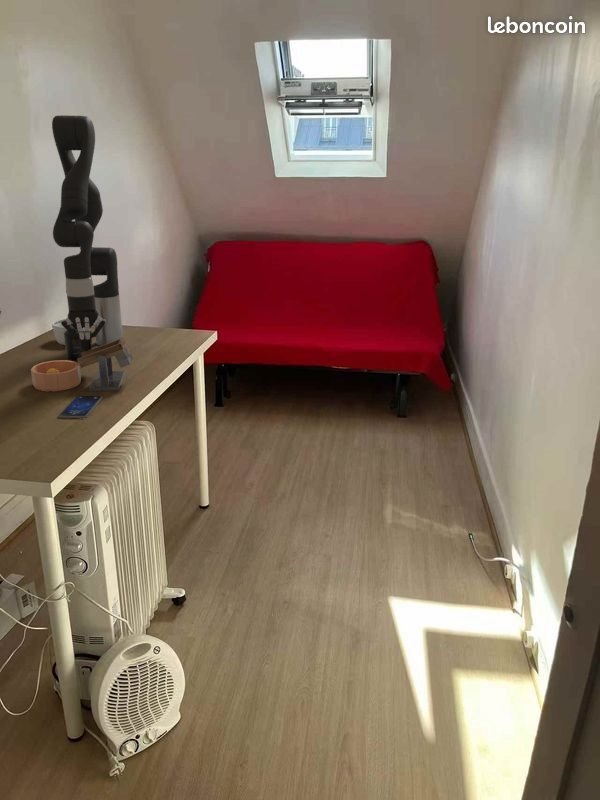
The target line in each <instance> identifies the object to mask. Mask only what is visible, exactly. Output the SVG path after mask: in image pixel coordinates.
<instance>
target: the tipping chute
mask: <svg viewBox="0 0 600 800" xmlns="http://www.w3.org/2000/svg"><path fill="white" fill-rule="evenodd" d="M81 355H82V357H81V358H78V359H77V360H76V361H77V363H78V364H79V365H80V369H82V368H86V367H88V366H91V365H93V364H97V363H99V361H98V355H106V359H107V358H110V357H112V358H113V357H115V359H116V361H117V363H118V365H119V367H120V369H121V368H125V367H127V366H130V365H131V364H132V362H133V359H134V357H133V355H132V353H131V351H130V349H129V347H128V343H127V342H126V341H125V338H124V337H123V338H121V339H118V340H115V341H113V342H110V343H107V344H105V345H102V346H98V345H96V346H92V349H90V350H88V351H85V352H83V353H81Z"/></svg>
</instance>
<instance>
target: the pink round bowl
mask: <svg viewBox="0 0 600 800" xmlns="http://www.w3.org/2000/svg"><path fill="white" fill-rule="evenodd" d="M52 368H53V369H57V370H58V371H59V372H60V373H46V372H47V371H48V370H49V369H52ZM30 375H31V379H32V380H31V381H32V385H33V387H34V389H35V390H38V391H40V390H41V391H42V392H49V391H52V392H62V390H63V391H67V390H70V389H73V388H75V387H78V386H79V385H80V384H81V380H82V375H81V367H80V364H79V362H76V361H75V360H69V359H68V360H67V359H65V360H62V359H61V360H60V359H59V360H49V361H43V362H40V363H38V364H35V365H33V367H31V369H30Z"/></svg>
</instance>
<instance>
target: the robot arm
mask: <svg viewBox="0 0 600 800" xmlns="http://www.w3.org/2000/svg"><path fill="white" fill-rule="evenodd" d="M51 129H52V130H51V131H52V135H53V139H54V143H55V146H56V150H57V152H58V156H59V159H60V163H61V166H62V170H63V174H64V179H63V181H62V184H61V190H60V192H61V193H60V208H59V211H58V214H57V217H56V220H55V222H54V224H53V228H52V237H53V241H54V243H55V244H56V245H57V246H58V247H60V248H79V249H80V251H79V253H76V254H74V255H68V256H66V257H65V258H64V260H63V268H64V275H65V293H66V299H67V307H68V313H67V317H66V318H64V319H65V320H63V321H62V322H61V324H62V325H63V326H64V328H65V329H66V330H67V331H68V332H69V333H70V334H71V335H72V336H73V337H75V338H79V339H80V340H81V347H82V350H84V351H88V350H90V349H92V348H93V340H92V339H93V338H95V343H96V346H98V347H99V346H102V345H105V344H107V343H110V342H113V341H115V340H118V339H121V338H124V333H123V332H124V331H123V323H122V312H121V311H122V310H121V303H120V301H121V300H120V290H119V288H120V287H119V277H118V276H119V273H118V272H119V271H118V257H117V256H118V255H117V252H116V249H114V248H113V247H97V246H96V247H95V246H94V247H93V242H94V232H95V230H96V229H97V226H98V225H99V222H100V221H101V219H102V216H103V213H104V212H103V211H104V209H103V204H102V198H101V192H100V190H99V189H98V186H97V185H96V184H95V183H94V181H92V178H90V175H91V170H92V167H93V166H92V165H93V161H94V160H93V158H94V153H95V145H96V132H95V130H96V129H95V126H94V123H93V121H92V119H91V117H88V116H87V115H68V114H67V115H64V114H63V115H55V116H54V117H53V118H52V121H51ZM73 151H80V152H79V155H78V158H77V159H76V157H75V156H74V153H73ZM92 276H106V279H105V281H103V282H101V283H99V284H95V285H94V283H93V277H92ZM70 321H71V322H72V323H73V324H74V325H75V326H76V327H77V328H78V331H77V330H76V329H75V328H74V327H73V326H72V325H71V322H70ZM93 326H94V331H92V327H93ZM84 327H85V330H84ZM85 332H86V337H85Z"/></svg>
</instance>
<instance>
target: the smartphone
mask: <svg viewBox="0 0 600 800" xmlns="http://www.w3.org/2000/svg"><path fill="white" fill-rule="evenodd" d="M103 399H104V398H103V396H101V395H85V394H84V395H83V394H82V395H80V394H79V395H76V396H75V397H74V399H72V400H71V402H70V403H69V404H67V406H65V408H64V409H63V410H62V411H61V412H60V413H59V414H58V419H61V418H79V419H78V420H83V418H85V419H87V418H88V417H89V416H90V413H91V412H93V411H95V409H96V407H97V406H98V405H99V404H100V403H101V401H102V400H103ZM98 403H99V404H98ZM94 408H95V409H94ZM91 414H92V413H91ZM80 418H81V419H80Z"/></svg>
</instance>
